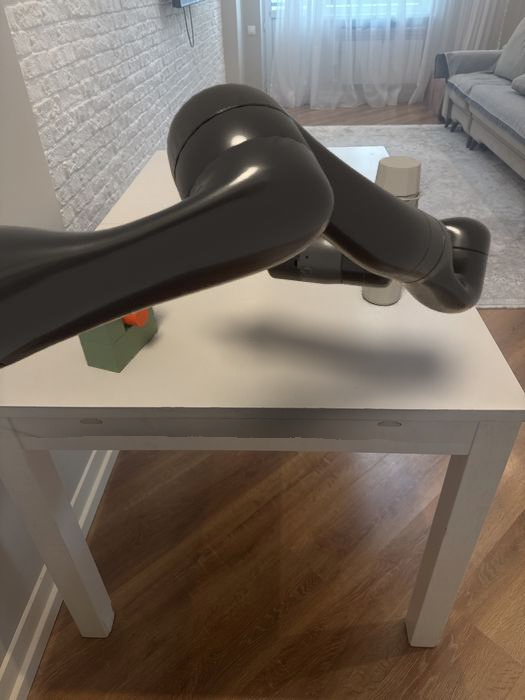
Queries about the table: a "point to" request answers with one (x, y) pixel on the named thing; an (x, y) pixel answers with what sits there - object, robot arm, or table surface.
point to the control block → (116, 343)
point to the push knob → (136, 318)
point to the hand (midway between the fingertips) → (184, 239)
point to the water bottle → (403, 183)
